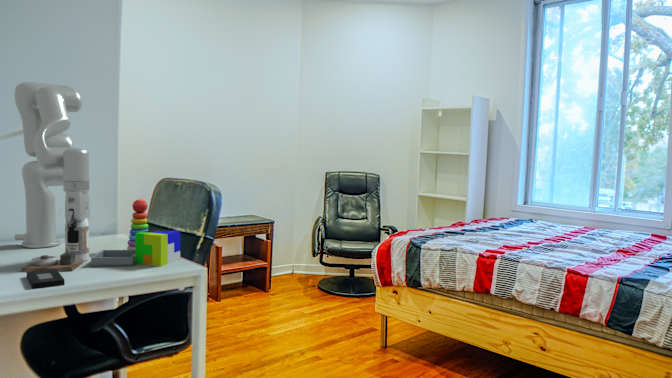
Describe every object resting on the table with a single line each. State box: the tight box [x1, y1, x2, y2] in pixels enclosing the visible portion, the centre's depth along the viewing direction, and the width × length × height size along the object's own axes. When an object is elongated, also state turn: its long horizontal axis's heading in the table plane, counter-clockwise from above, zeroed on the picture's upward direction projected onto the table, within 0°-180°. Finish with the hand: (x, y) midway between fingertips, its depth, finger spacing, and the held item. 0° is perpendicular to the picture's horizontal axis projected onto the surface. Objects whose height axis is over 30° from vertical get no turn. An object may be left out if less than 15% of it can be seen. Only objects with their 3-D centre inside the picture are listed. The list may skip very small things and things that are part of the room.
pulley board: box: [20, 247, 83, 273], centre depth 156 cm, size 14×10×6 cm
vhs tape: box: [26, 269, 65, 290], centre depth 141 cm, size 8×14×2 cm, turn 37°
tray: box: [90, 249, 136, 268], centre depth 165 cm, size 12×12×3 cm
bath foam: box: [64, 218, 90, 262], centre depth 165 cm, size 7×7×20 cm
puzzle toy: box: [135, 228, 181, 267], centre depth 167 cm, size 10×10×10 cm
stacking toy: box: [126, 198, 149, 250], centre depth 184 cm, size 8×8×19 cm
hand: (77, 240), depth 166 cm, fingers closed on bath foam, 7 cm apart
